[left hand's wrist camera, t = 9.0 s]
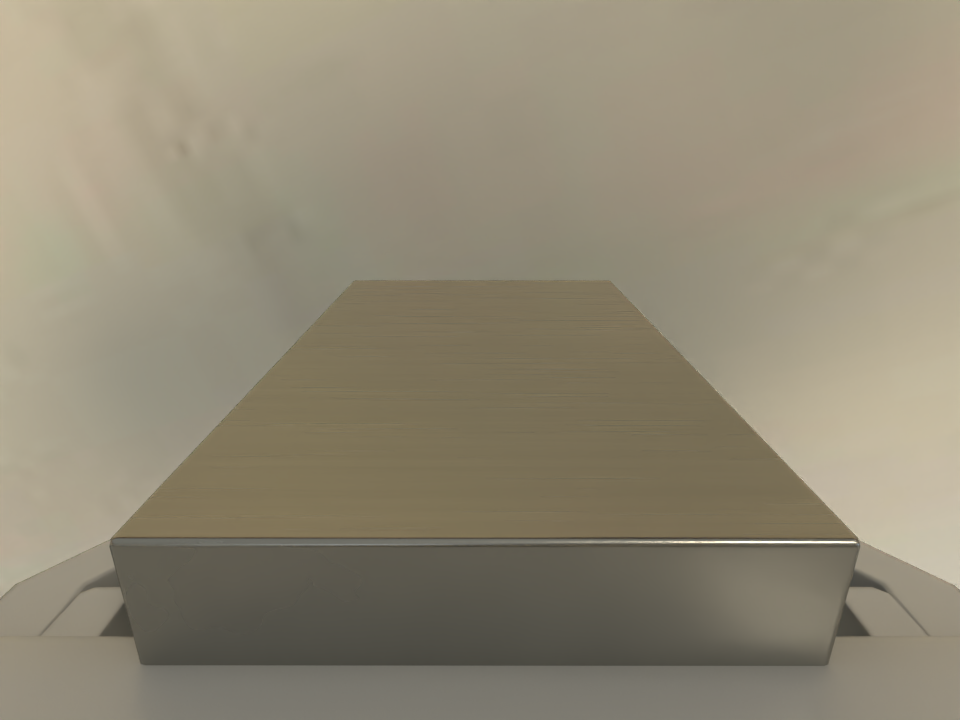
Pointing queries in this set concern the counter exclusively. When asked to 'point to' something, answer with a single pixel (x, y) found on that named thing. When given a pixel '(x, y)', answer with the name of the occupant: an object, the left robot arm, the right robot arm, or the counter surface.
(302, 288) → the counter surface
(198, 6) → the counter surface
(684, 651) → the bar
